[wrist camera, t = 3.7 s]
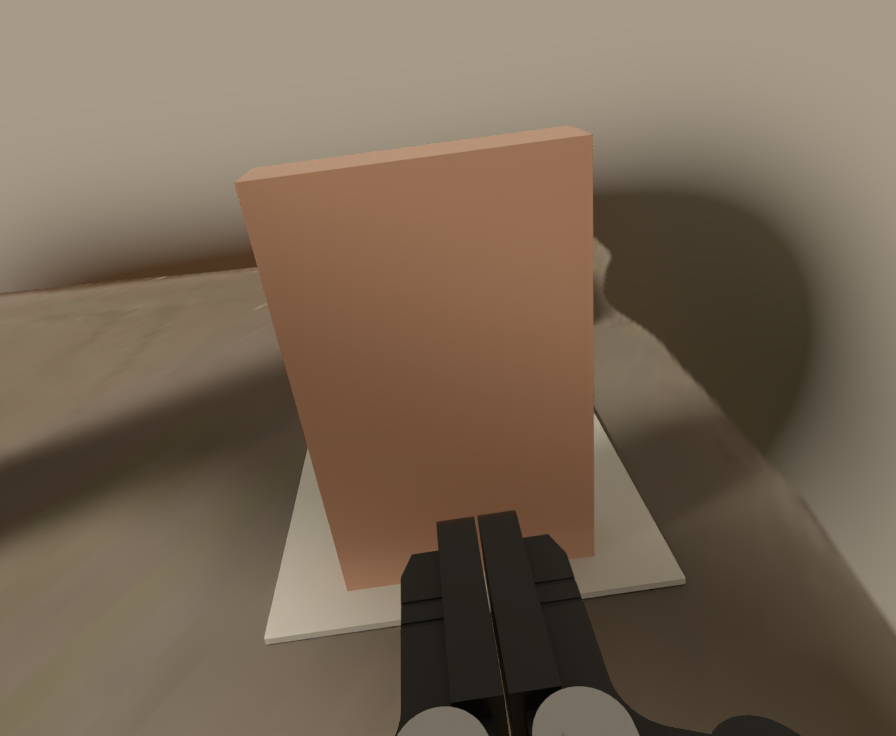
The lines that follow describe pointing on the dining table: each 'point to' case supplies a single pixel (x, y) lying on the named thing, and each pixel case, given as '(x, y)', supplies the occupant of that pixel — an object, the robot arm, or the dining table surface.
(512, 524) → the robot arm
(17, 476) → the dining table surface
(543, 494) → the tile
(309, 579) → the mat
